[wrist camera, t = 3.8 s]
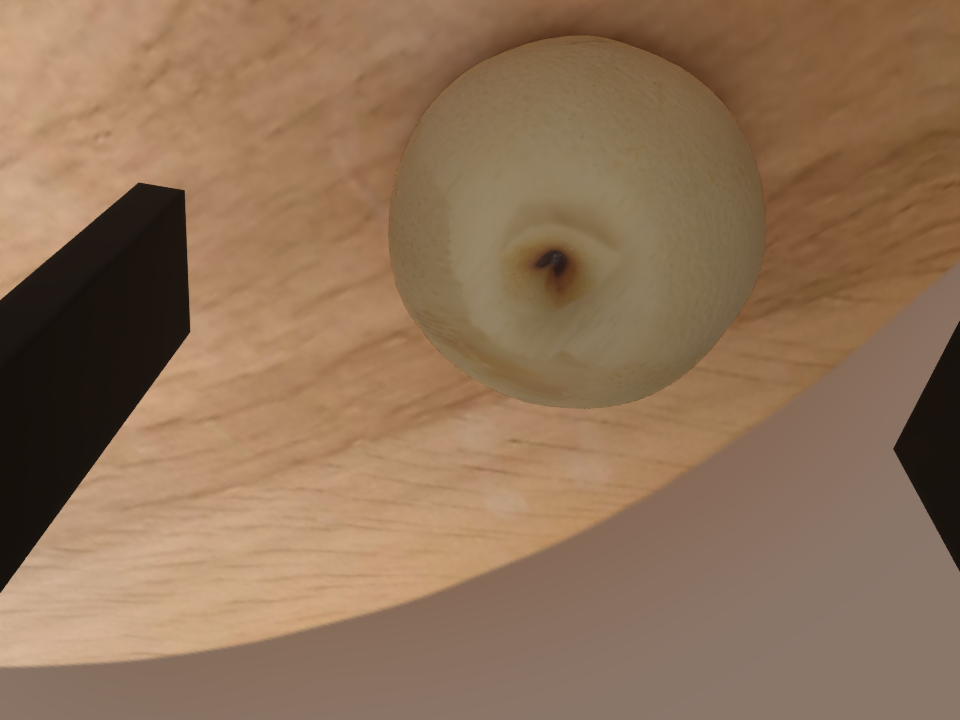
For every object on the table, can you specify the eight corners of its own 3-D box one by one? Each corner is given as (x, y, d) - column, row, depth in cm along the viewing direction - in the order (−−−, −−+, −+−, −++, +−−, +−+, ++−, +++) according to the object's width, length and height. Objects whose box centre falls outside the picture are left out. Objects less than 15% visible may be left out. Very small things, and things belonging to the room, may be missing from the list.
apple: (659, 374, 24) (501, 530, 19) (473, 163, 25) (269, 257, 19) (892, 194, 18) (758, 348, 13) (640, -73, 19) (415, -32, 14)
